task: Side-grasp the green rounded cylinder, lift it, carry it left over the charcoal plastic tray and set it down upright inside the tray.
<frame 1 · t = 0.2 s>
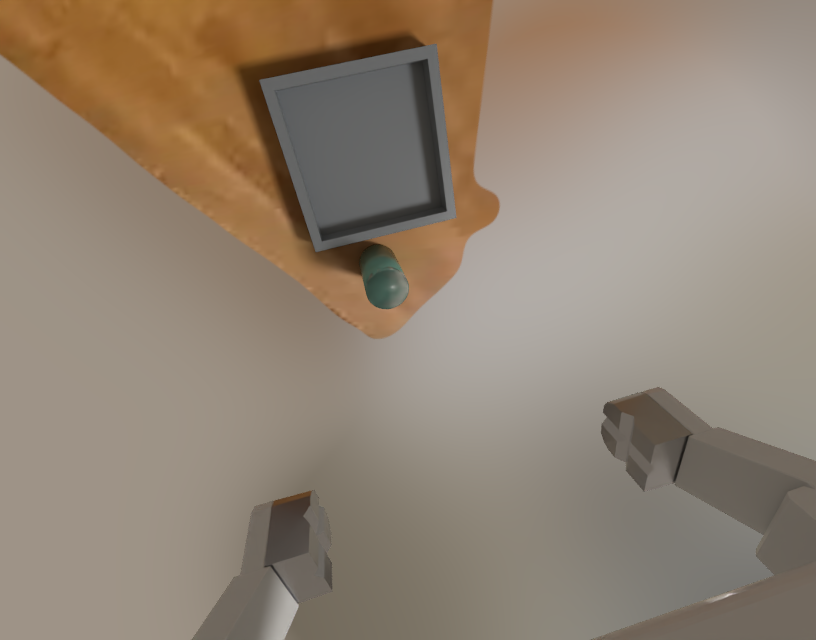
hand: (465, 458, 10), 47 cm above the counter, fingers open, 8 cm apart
tray: (367, 154, 49), on the counter
green rounded cylinder: (377, 262, 57), on the counter
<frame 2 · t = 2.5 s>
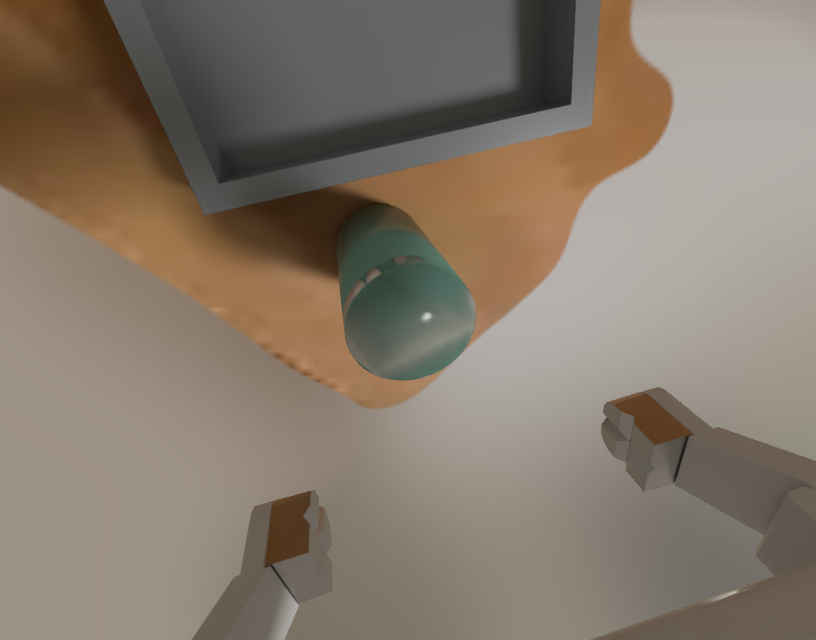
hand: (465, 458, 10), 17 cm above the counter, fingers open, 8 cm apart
green rounded cylinder: (379, 248, 24), on the counter
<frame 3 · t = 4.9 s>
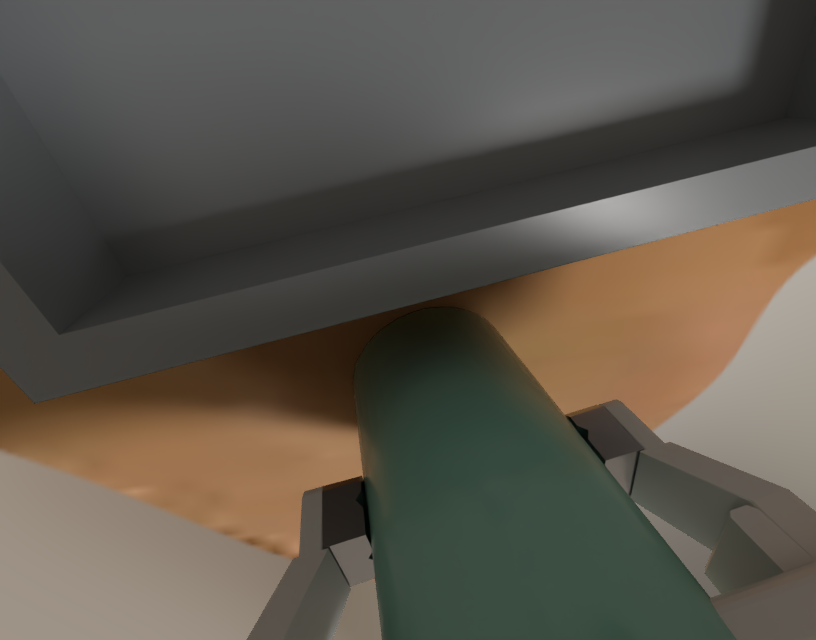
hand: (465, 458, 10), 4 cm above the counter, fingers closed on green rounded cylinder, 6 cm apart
green rounded cylinder: (432, 377, 13), on the counter, touching gripper
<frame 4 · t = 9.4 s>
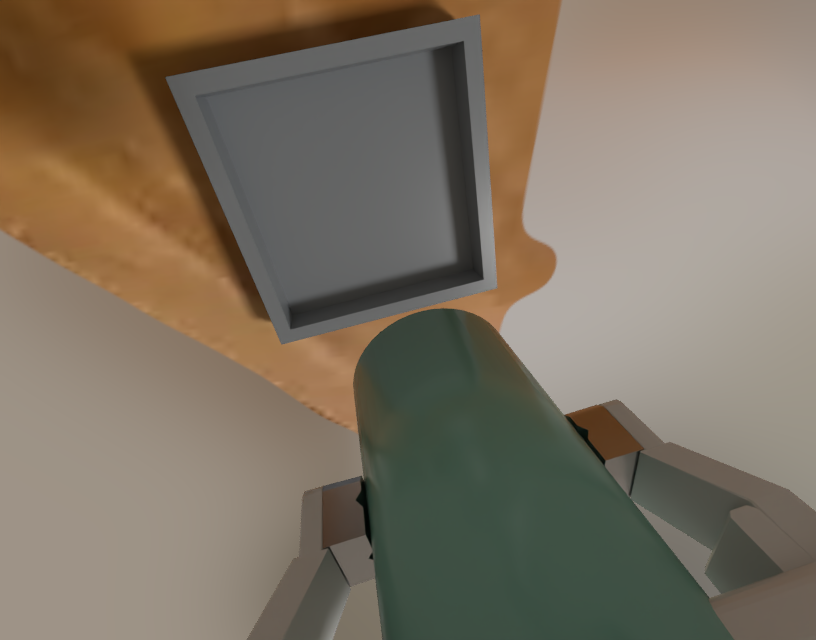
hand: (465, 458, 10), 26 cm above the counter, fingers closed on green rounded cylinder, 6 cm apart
tray: (361, 195, 32), on the counter
green rounded cylinder: (432, 379, 13), point 23 cm above the counter, touching gripper
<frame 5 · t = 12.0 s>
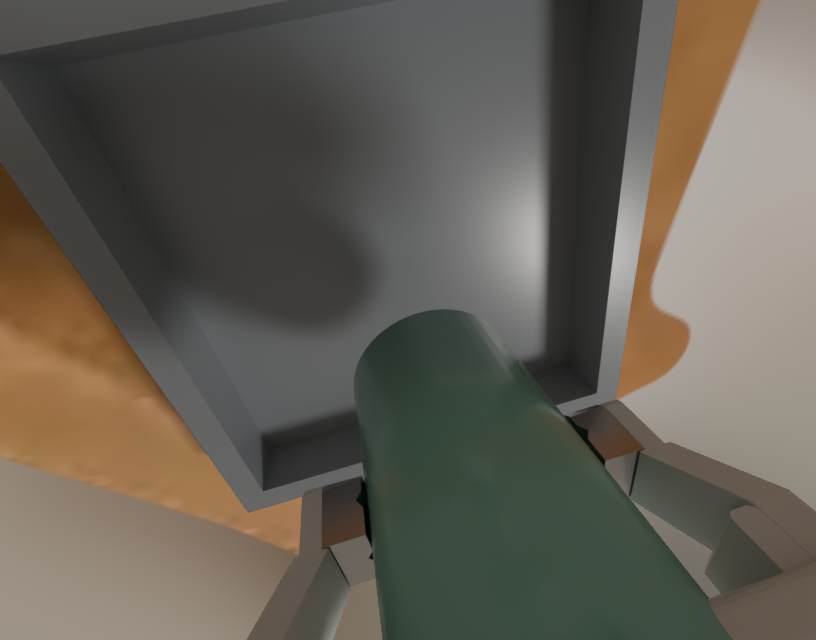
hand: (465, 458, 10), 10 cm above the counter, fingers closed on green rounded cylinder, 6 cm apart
tray: (389, 256, 17), on the counter
green rounded cylinder: (433, 379, 13), point 6 cm above the counter, touching gripper
when the fingers open (5 cm above the counter, at t = 14.0 s): green rounded cylinder stays where it is, resting on tray.
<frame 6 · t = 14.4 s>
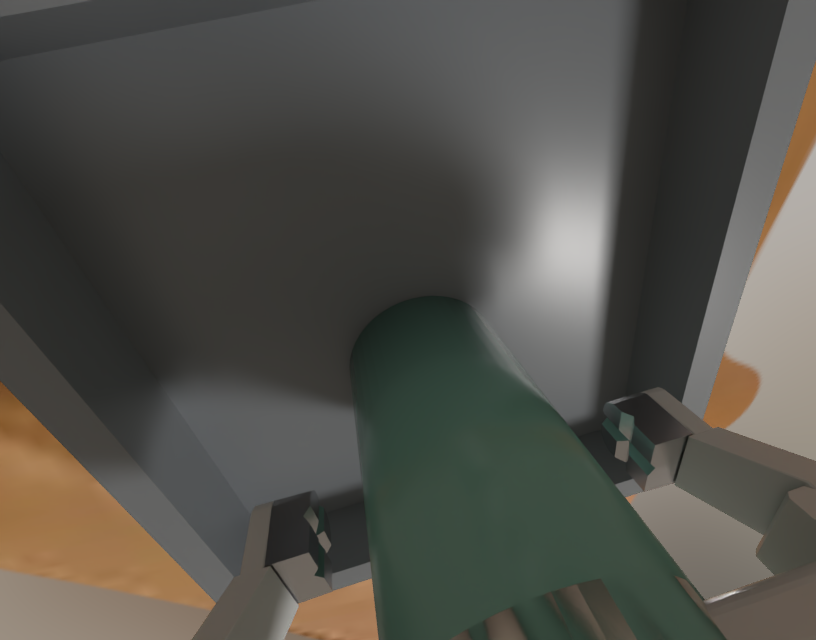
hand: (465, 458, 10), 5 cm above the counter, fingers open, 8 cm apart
tray: (412, 307, 14), on the counter
green rounded cylinder: (424, 363, 14), point 1 cm above the counter, touching tray
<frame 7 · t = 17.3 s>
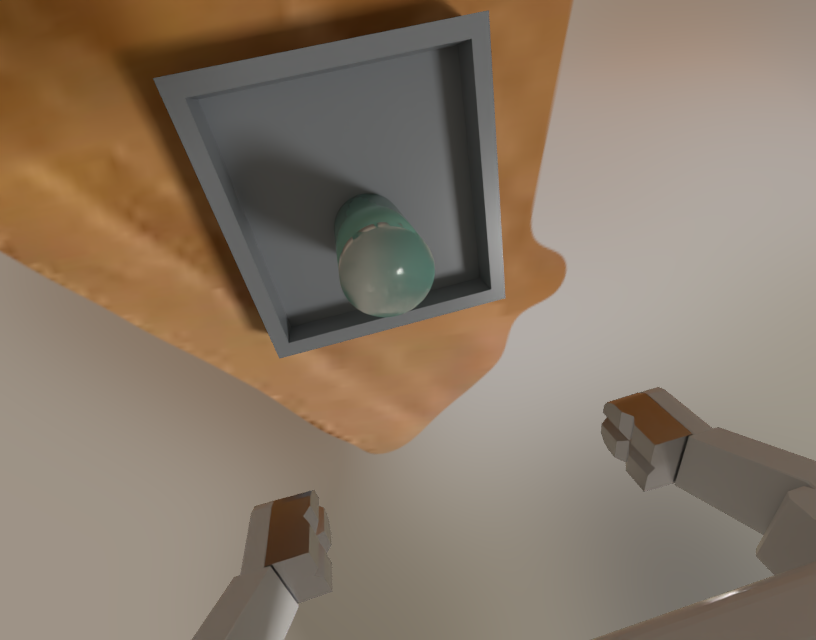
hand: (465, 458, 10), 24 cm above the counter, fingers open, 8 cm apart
tray: (362, 202, 30), on the counter
green rounded cylinder: (369, 229, 30), point 1 cm above the counter, touching tray
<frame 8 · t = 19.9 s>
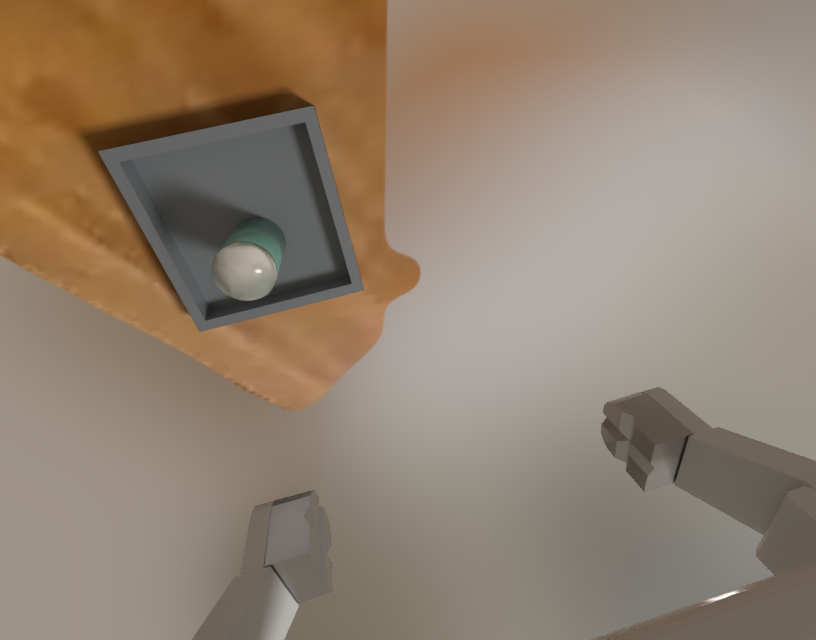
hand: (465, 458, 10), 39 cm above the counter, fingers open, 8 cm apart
tray: (255, 222, 43), on the counter
green rounded cylinder: (260, 241, 43), point 1 cm above the counter, touching tray
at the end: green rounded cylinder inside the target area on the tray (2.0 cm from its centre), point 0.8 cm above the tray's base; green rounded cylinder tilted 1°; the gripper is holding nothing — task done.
